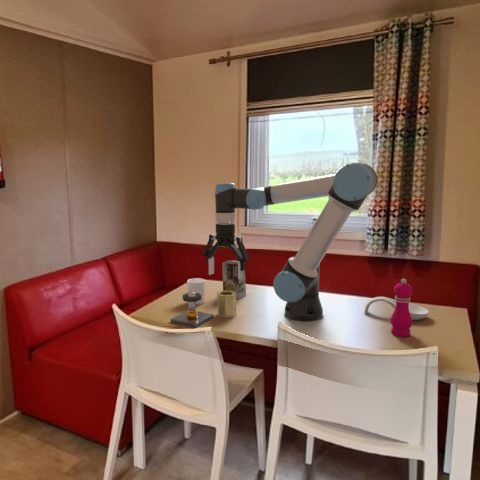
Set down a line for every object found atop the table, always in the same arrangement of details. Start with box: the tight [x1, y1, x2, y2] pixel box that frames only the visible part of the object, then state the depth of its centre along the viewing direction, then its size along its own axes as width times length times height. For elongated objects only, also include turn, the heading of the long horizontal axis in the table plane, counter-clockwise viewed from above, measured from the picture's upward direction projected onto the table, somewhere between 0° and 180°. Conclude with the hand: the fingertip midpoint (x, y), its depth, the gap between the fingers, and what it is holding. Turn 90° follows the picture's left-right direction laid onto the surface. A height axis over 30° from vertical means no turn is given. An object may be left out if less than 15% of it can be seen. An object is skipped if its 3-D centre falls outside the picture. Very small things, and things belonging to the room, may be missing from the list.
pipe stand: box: [170, 291, 215, 329], centre depth 156 cm, size 12×12×11 cm
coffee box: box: [221, 259, 247, 300], centre depth 185 cm, size 9×6×16 cm
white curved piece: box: [364, 296, 430, 321], centre depth 159 cm, size 24×12×7 cm, turn 72°
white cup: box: [186, 277, 206, 306], centre depth 177 cm, size 8×8×10 cm
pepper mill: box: [389, 278, 414, 338], centre depth 140 cm, size 7×7×20 cm
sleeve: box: [216, 290, 237, 319], centre depth 161 cm, size 7×7×9 cm
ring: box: [182, 292, 201, 303], centre depth 155 cm, size 7×7×2 cm
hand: (225, 276), depth 159 cm, fingers open, 13 cm apart
